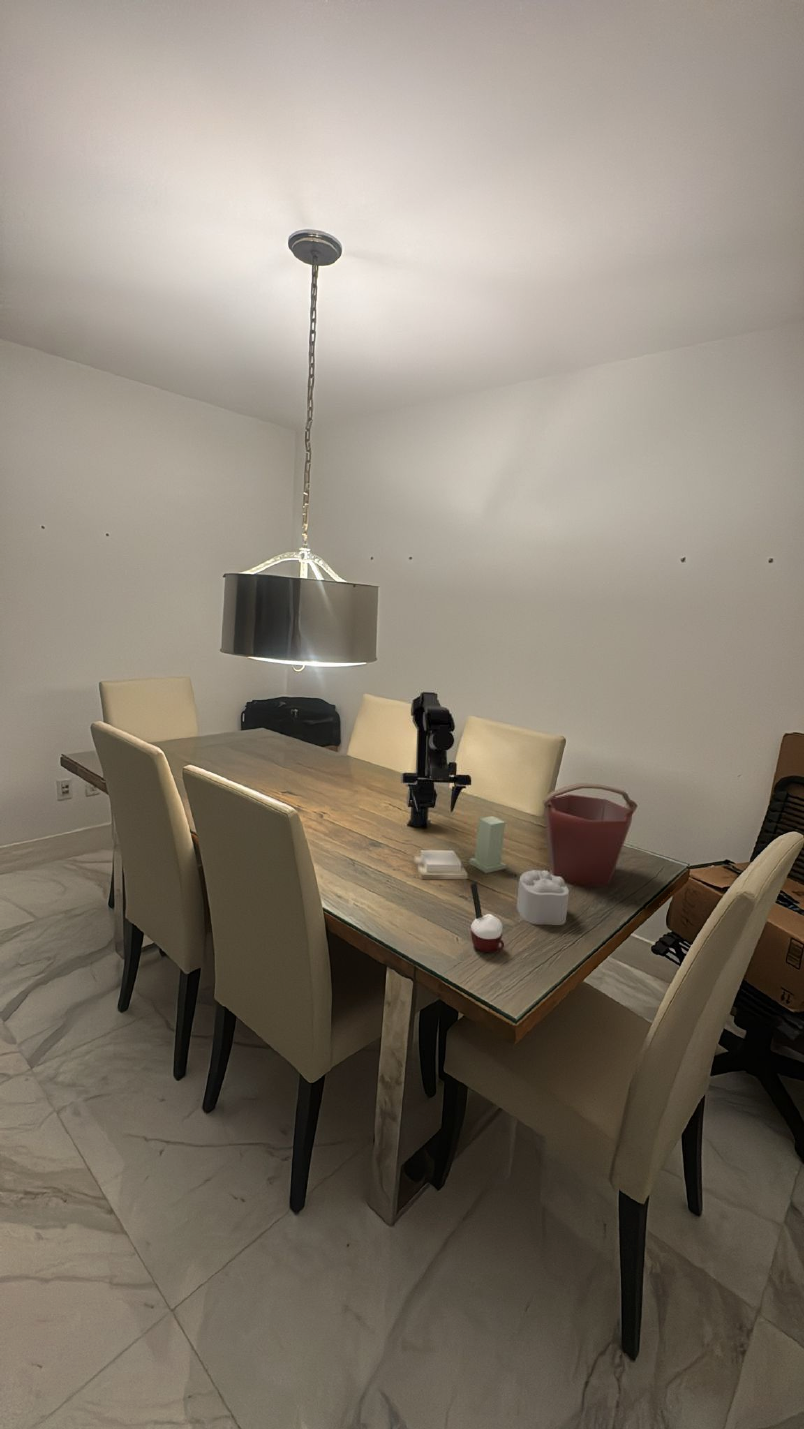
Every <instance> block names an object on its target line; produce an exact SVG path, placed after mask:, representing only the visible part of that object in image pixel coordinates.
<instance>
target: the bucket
mask: <svg viewBox="0 0 804 1429" xmlns="http://www.w3.org/2000/svg"><path fill="white" fill-rule="evenodd" d="M581 789H596V790H603V791H607V792H608V791H609V792H612V793H615V794H618V795H621V797H622V798H623V800H624V801H625V805H624V806H622V805H619V804H617V803H616V802H613V801H610V800H609V799H606V798H598V797H589V796H584V795H576V794H567V793H570V792H573V791H577V790H581ZM564 794H565V795H564ZM542 804H543V806H544V820H545V832H546V842H547V844H546V846H547V856H548V858H547V859H548V866H549V868H550V870H551V873H552V875H553V876H557V877H558V876H559V877H562V878H563V880H564V882H567V883H571V884H573V885H576V886H578V887H582V888H583V887H608V886H609V884H610V881H611V880H612V877H613V875H614V872H615V870H616V867H617V864H618V861H619V859H620V855H621V853H622V851H623V847H624V844H625V841H626V839H627V835H628V832H629V830H630V828H631V827H630V826H631V824H632V821H633V815H634V813H635V812H636V810H637V808H638V804H637V803H636V802H635V801H634V800H633V799H631V798H630V797H629V794H628V793H627V792H626V791H625V790H622V789H619V788H617V787H616V788H615V787H612V786H607V785H603V784H597V783H587V782H586V783H581V782H580V783H578V782H577V783H575V784H571V785H568V786H563V787H560V788H559V789H555V790H552V791H551V792H550V793H548V794H547V795H546V796H544V798H543V799H542Z"/></svg>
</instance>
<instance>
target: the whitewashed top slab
mask: <svg viewBox="0 0 804 1429" xmlns="http://www.w3.org/2000/svg"><path fill="white" fill-rule="evenodd" d="M420 855H421V860H422V862H423V864H424V867H425V869H426V872H461V863H462V862H461V861H460V862H461V863H460V862H459V860H460V859H459V860H458V858H459V857H458V858H457V856H458V855H457V854H456V852H455V851H454V850H433V849H432V850H431V849H430V850H427V849H425V850H423V849H421V851H420Z"/></svg>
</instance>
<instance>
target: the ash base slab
mask: <svg viewBox="0 0 804 1429" xmlns="http://www.w3.org/2000/svg"><path fill="white" fill-rule="evenodd" d="M456 856H457V858H458V860H459V862H460V863H461V872H426V869H425V867H424V864H423V862H422V860H421V854H420V855H419V854H416V855H415V854H414V855H413V860H414V863H415V866H416V869H417V872H418V873H419V877H420V878H421V880H468V876H469V875H468V873H467V870H466V869H465V867H464V865H463V864H462V862H461V860H460V858H459V855H456Z"/></svg>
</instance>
